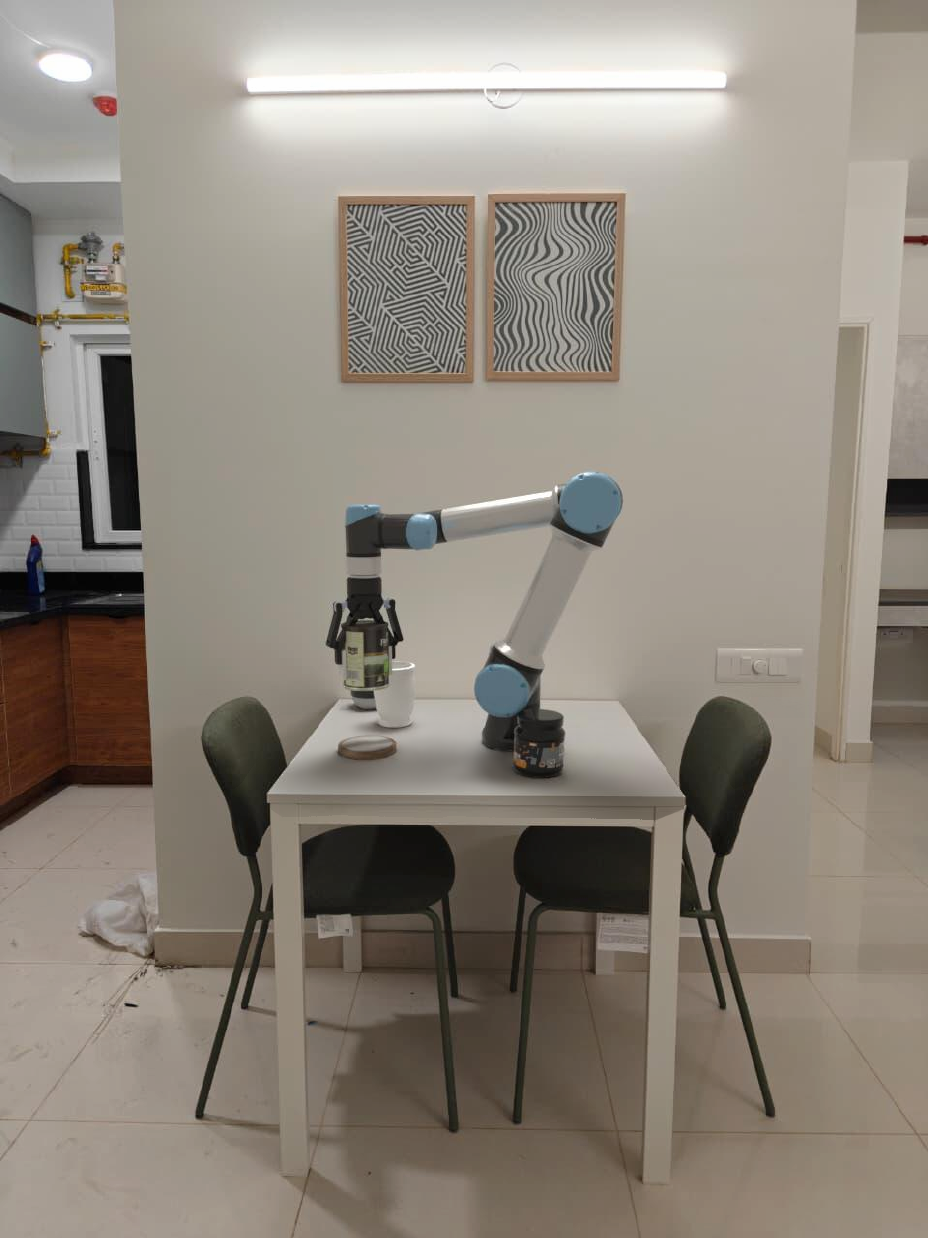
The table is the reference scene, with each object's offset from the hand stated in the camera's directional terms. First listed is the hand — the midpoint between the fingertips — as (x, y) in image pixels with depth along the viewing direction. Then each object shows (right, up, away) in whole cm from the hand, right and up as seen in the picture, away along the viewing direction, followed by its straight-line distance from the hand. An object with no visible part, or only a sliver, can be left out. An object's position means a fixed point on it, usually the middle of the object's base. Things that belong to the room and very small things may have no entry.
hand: (365, 676), depth 181 cm
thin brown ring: (0, -17, +2) cm, 17 cm away
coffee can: (0, -2, 0) cm, 2 cm away
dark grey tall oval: (-4, -11, +40) cm, 42 cm away
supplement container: (+37, -19, -11) cm, 43 cm away
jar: (+5, -14, +24) cm, 28 cm away
